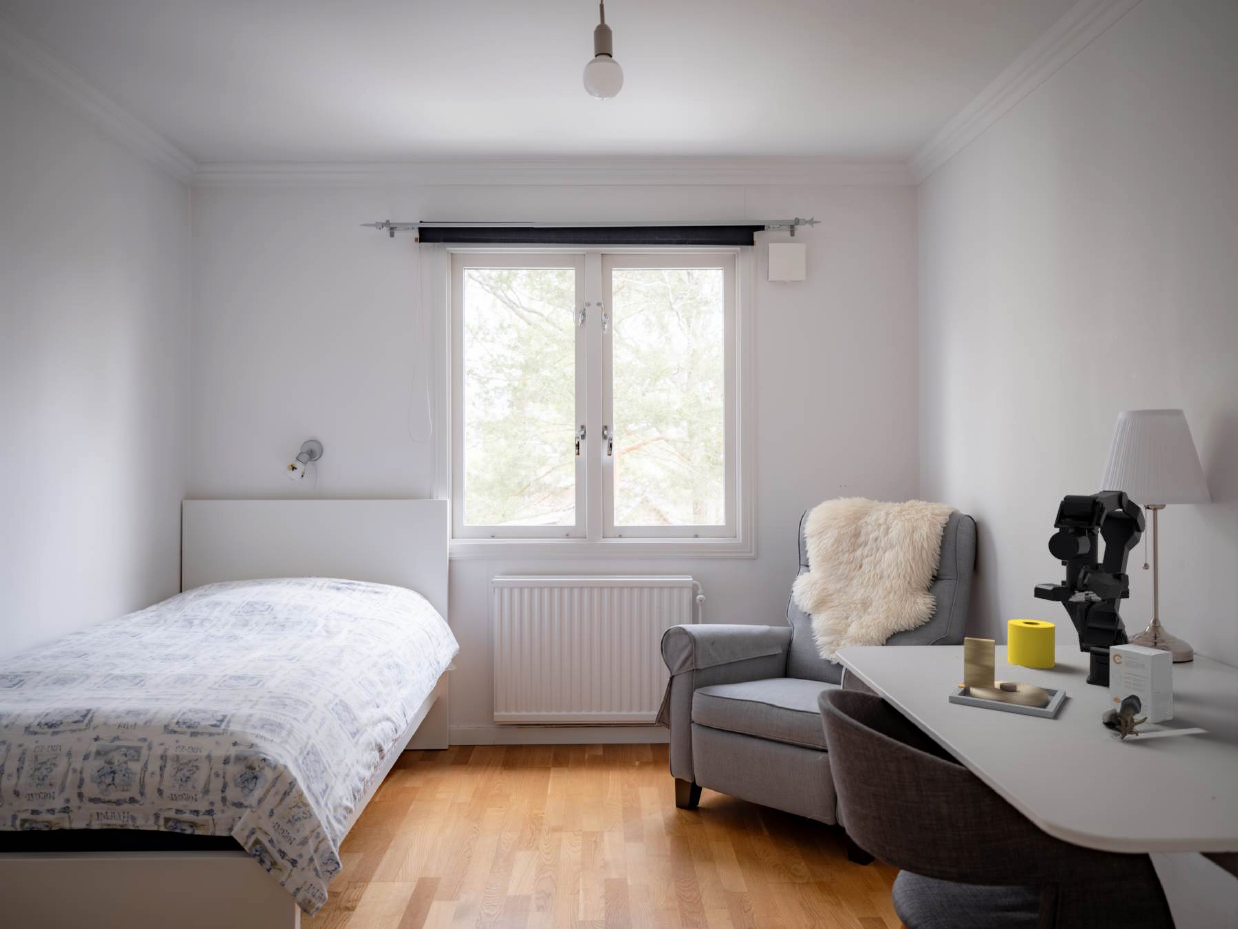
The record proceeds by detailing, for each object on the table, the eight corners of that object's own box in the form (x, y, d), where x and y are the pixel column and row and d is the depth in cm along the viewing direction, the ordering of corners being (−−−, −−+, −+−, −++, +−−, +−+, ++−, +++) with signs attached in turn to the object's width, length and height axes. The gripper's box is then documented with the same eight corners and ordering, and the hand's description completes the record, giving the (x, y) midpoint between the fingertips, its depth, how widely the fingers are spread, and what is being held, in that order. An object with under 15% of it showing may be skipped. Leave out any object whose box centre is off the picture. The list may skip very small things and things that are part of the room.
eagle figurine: (1162, 738, 142) (1152, 714, 150) (1136, 702, 142) (1128, 680, 150) (1117, 755, 145) (1110, 731, 153) (1092, 720, 146) (1086, 697, 154)
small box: (1173, 723, 154) (1174, 651, 154) (1151, 728, 151) (1152, 655, 151) (1129, 711, 161) (1130, 643, 161) (1108, 715, 158) (1108, 646, 158)
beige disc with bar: (1048, 694, 169) (1049, 639, 169) (1047, 712, 157) (1047, 653, 156) (968, 684, 176) (968, 631, 176) (960, 701, 164) (960, 644, 164)
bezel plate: (970, 685, 179) (970, 675, 179) (1065, 700, 168) (1065, 688, 168) (948, 706, 164) (948, 694, 164) (1052, 722, 153) (1052, 710, 153)
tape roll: (1036, 670, 192) (1037, 629, 192) (998, 661, 201) (998, 621, 201) (1064, 665, 197) (1064, 625, 197) (1025, 656, 206) (1025, 618, 206)
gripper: (1075, 562, 162) (1074, 644, 162) (1153, 560, 167) (1152, 639, 167) (1032, 556, 172) (1031, 632, 173) (1106, 554, 177) (1106, 628, 177)
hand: (1081, 633), depth 172 cm, fingers closed
